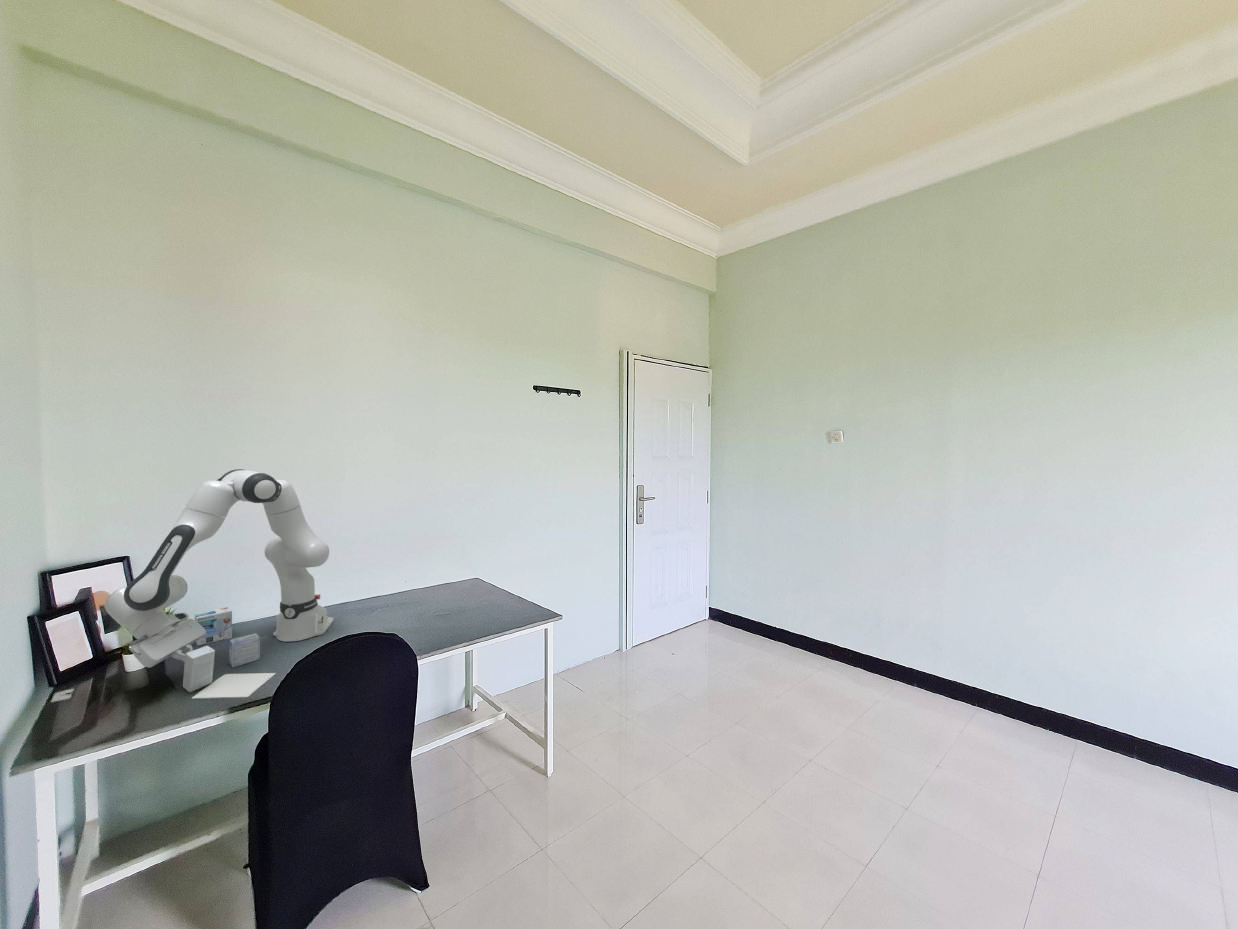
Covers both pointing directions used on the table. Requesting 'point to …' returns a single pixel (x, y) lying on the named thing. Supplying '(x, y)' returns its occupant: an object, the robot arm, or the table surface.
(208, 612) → the light bulb box
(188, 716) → the table surface
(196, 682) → the skincare box
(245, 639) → the medicine box
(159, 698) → the table surface
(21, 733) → the table surface
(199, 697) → the off-white mat
